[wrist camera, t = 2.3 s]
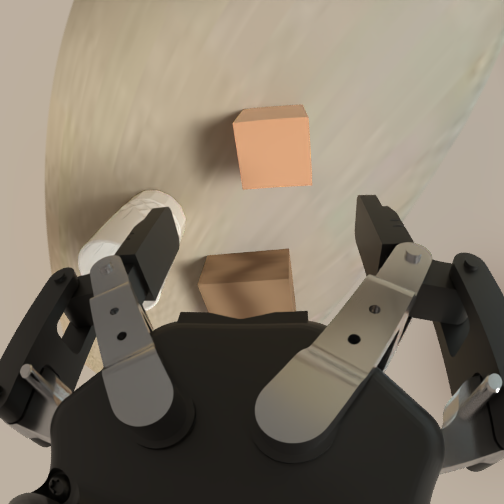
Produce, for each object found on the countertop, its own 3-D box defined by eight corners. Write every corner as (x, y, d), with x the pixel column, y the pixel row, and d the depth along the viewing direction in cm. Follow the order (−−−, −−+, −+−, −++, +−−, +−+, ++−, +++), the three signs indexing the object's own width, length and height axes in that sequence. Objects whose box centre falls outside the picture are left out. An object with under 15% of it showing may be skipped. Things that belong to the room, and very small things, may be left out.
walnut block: (288, 247, 32) (288, 278, 28) (295, 305, 37) (295, 337, 33) (208, 254, 33) (197, 284, 29) (226, 309, 38) (219, 339, 34)
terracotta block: (302, 104, 22) (308, 117, 18) (306, 158, 25) (312, 185, 21) (243, 109, 23) (232, 123, 18) (251, 162, 26) (242, 189, 21)
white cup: (201, 241, 32) (175, 310, 24) (141, 251, 34) (106, 313, 26) (176, 175, 28) (133, 232, 20) (113, 193, 29) (62, 248, 21)
